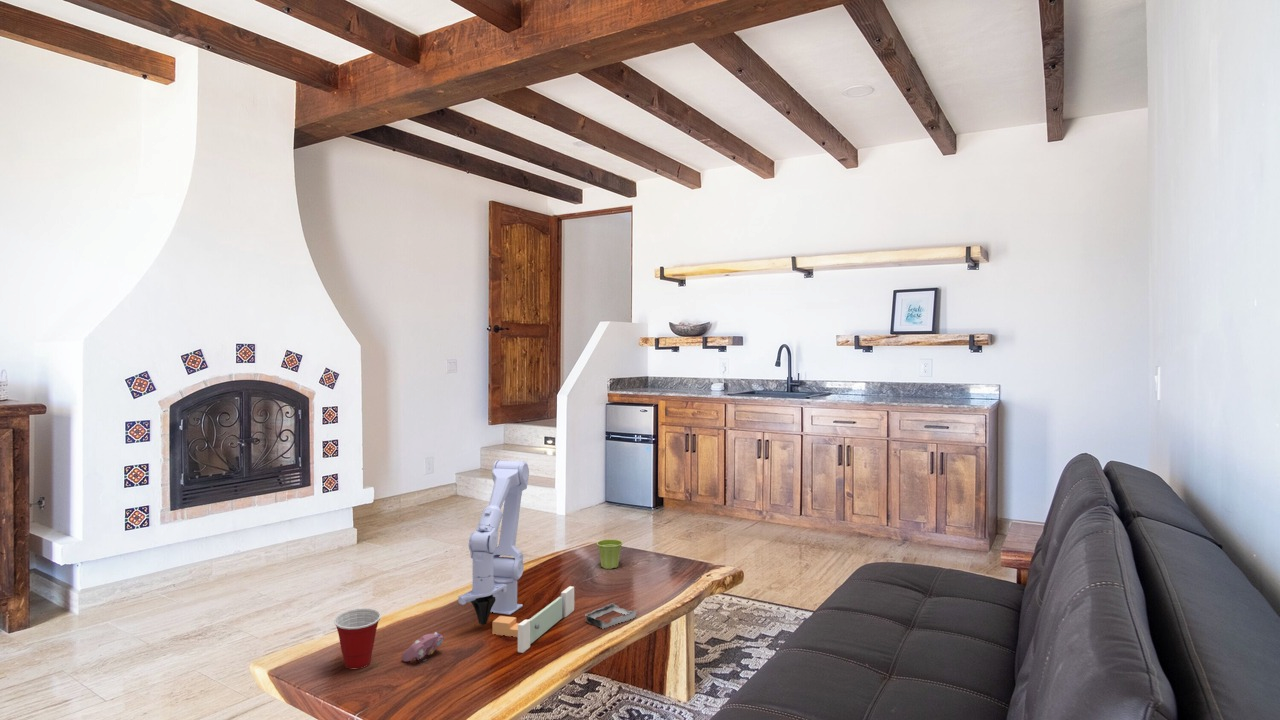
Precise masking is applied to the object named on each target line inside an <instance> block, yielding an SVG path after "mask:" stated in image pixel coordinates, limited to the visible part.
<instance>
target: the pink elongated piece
mask: <svg viewBox="0 0 1280 720" xmlns="http://www.w3.org/2000/svg"><path fill="white" fill-rule="evenodd" d="M444 640H445V638H444V636H443V635H442V634H440V633H438V632H437V631H435V632H434V633H426V634H424V635H422V636H421V637H420V638H419V639H416V640H415V641H414V642H412V643H411V645H410V646H409V647H408V648H407V649H406V650H404V652H403V653H402V654H401V660H402V661H403V662H405V663H406V662H410V661H411V660H413V659H414V658H416V659H417V661H420V660H419V659H421V658H422V659H424V657H425V656H426V654H427V656H431V655H433V654H434V652H435V651H436V650H437V649H438V648H439V647H440V646H441V645H442V644H443V643H444ZM430 654H431V655H430ZM422 659H421V660H422Z"/></svg>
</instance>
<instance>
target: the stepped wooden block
mask: <svg viewBox="0 0 1280 720" xmlns="http://www.w3.org/2000/svg"><path fill="white" fill-rule="evenodd" d="M520 623H521V622H517V617H514V616H505V615H499V616H498V617H497V618H495V619H494V620H493V621H492V625H491V626H492V635H494V634H496V635H497V636H503V635H505V636H506V637H511V636H513V638H518V624H520ZM496 635H495V636H496Z"/></svg>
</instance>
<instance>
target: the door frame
mask: <svg viewBox="0 0 1280 720" xmlns="http://www.w3.org/2000/svg"><path fill="white" fill-rule="evenodd" d="M560 596H564V618H566V617H568V616H569V615H570V614H572V612H574V611H575V586H571V585H569V586H568V587H567V588H565V589H564V590H562V591H561V593H560ZM519 623H520V624H518V637H517V653H522V654H524V653H525V652H526V651H527V650H528V649H530V648H531V644H530V620H529V619H523V620H522V621H521V622H519Z"/></svg>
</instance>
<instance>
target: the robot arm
mask: <svg viewBox="0 0 1280 720" xmlns="http://www.w3.org/2000/svg"><path fill="white" fill-rule="evenodd" d="M491 467H492V470H491V474H492V475H491V476H492V477H491V478H492V480H493V481H492V482H493V487H492V490H491V491H492V492H491V495H490V499H489V503H488V506H487V507H485V508H483V511H482V513H481V515H480V518H479V521H478V524H477V526H476V530H474V532H472V533H471V534H470V536H469V539H468V540H469V541H468V550H469V552H470V559H471V560H472V584H471V585H472V589H471V590H469V591H468V592H466V593H463V594H461V595H459V596H458V601H457V602H458V604H459V605H466V603H471V604H472V606H473V608H474V610H475V614H476V616H477V621H478V624H480V625H481V626H485V625H488V621H489V618H490V613H492V612H493V614H500V615H508V616H511V615H512V614H513V613H515V612H517V611H518V610H519V609H521V608H522V607H523V604H522V603H518V581H519V580H520V578H521V577H522V575H523V572H524V568H525V567H524V554H523V552H522V551H521V550H520V549H519V548H518V547H517V545H516V543H517V536H518V535H517V534H518V527H519V518H520V513H521V512H520V511H521V502H522V501H521V500H522V495H523V491H525V490H527V488H528V485H529V476H530V469H529V468H530V467H529V465H528V463H527V461H526V460H523V461H522V460H521V461H520V460H519V461H516V460H500V459H497V460H495V462H494V463H493V465H492V466H491ZM502 507H503V510H501V509H502ZM499 529H500V535H499V532H498V530H499ZM498 538H499V539H498ZM498 540H499V541H498Z"/></svg>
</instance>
